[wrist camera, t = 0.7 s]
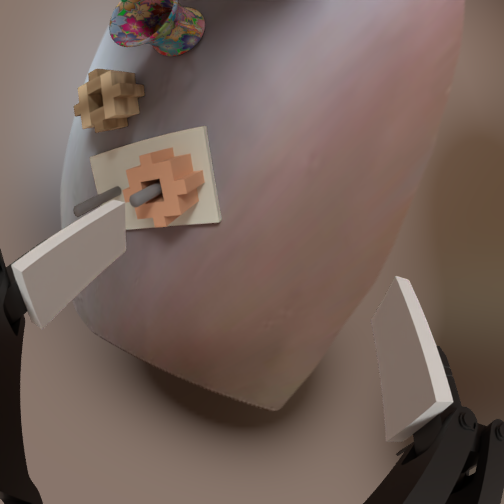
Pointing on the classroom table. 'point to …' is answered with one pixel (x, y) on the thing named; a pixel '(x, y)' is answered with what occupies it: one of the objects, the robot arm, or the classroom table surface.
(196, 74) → the classroom table surface
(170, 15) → the mug
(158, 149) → the gear board
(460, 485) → the robot arm
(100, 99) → the gear
